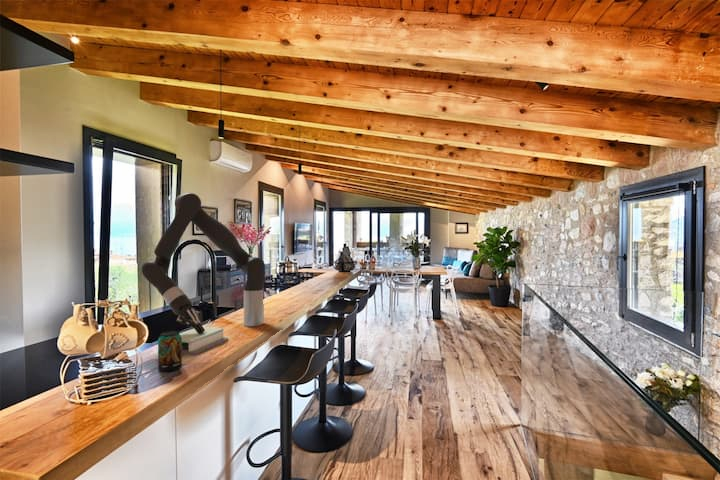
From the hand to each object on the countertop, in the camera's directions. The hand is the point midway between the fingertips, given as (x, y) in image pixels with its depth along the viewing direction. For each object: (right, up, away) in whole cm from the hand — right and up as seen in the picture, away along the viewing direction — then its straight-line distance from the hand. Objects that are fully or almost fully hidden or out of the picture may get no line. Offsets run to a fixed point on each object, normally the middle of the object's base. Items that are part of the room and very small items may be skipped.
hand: (202, 332), depth 151 cm
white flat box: (-3, -5, +1) cm, 6 cm away
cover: (-3, -1, +1) cm, 3 cm away
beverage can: (0, -6, -25) cm, 26 cm away
